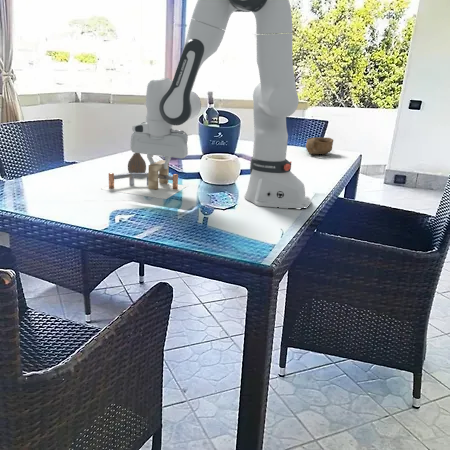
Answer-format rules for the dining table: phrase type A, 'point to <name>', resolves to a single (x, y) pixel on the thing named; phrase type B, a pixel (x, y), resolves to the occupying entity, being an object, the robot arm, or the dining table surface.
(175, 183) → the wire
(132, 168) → the vase
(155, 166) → the wooden arch
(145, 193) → the board
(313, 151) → the bowl
